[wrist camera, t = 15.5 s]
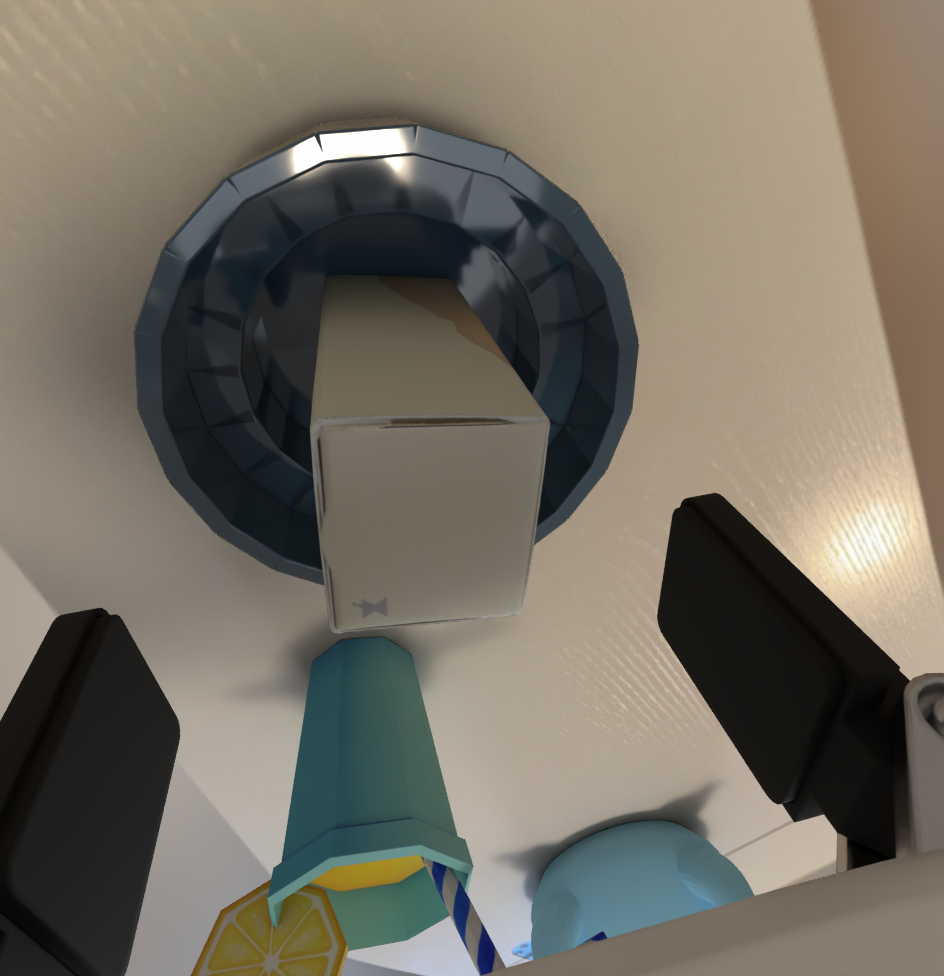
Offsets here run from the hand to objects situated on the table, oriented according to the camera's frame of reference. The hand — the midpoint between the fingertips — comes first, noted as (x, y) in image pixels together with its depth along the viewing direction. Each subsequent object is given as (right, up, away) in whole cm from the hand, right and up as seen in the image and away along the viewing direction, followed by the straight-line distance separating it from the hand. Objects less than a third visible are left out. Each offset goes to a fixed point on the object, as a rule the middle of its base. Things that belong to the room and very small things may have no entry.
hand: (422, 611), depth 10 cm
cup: (-4, -7, +20) cm, 22 cm away
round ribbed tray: (-2, +7, +11) cm, 13 cm away
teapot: (+14, -28, +38) cm, 49 cm away
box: (-2, +7, +10) cm, 13 cm away
